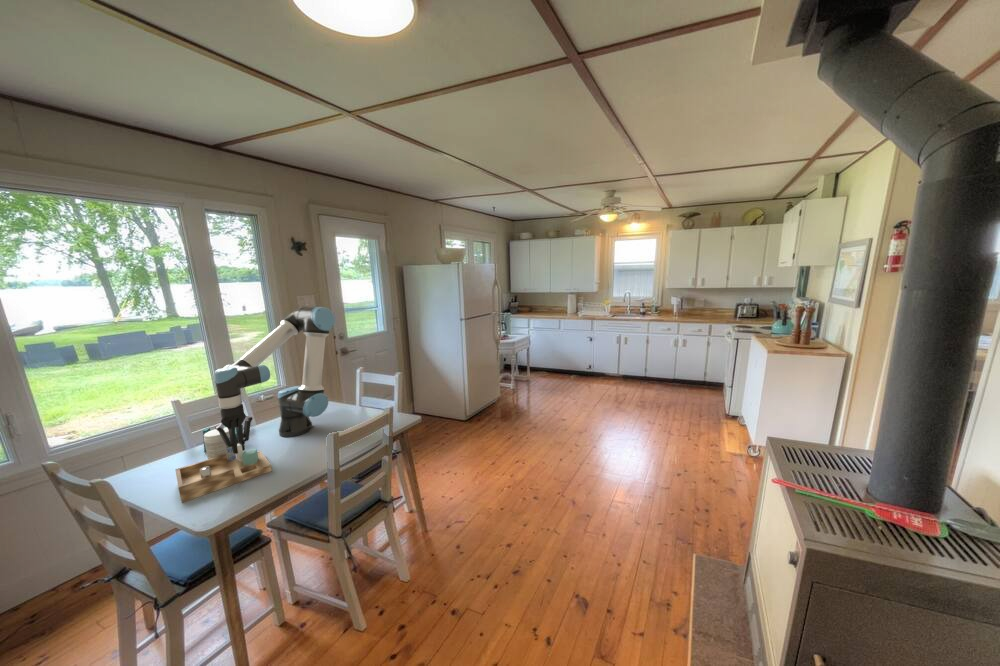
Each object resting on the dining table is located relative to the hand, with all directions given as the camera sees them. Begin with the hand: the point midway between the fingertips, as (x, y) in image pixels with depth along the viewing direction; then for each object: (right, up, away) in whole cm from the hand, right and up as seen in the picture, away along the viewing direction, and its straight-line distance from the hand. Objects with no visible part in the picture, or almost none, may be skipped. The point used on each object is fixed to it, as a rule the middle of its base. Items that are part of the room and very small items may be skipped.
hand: (240, 459), depth 149 cm
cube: (+4, -1, +1) cm, 4 cm away
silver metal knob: (-2, -4, -14) cm, 15 cm away
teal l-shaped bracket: (-26, -1, +26) cm, 37 cm away
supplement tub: (-11, -4, +5) cm, 13 cm away
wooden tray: (-2, -5, -6) cm, 8 cm away
